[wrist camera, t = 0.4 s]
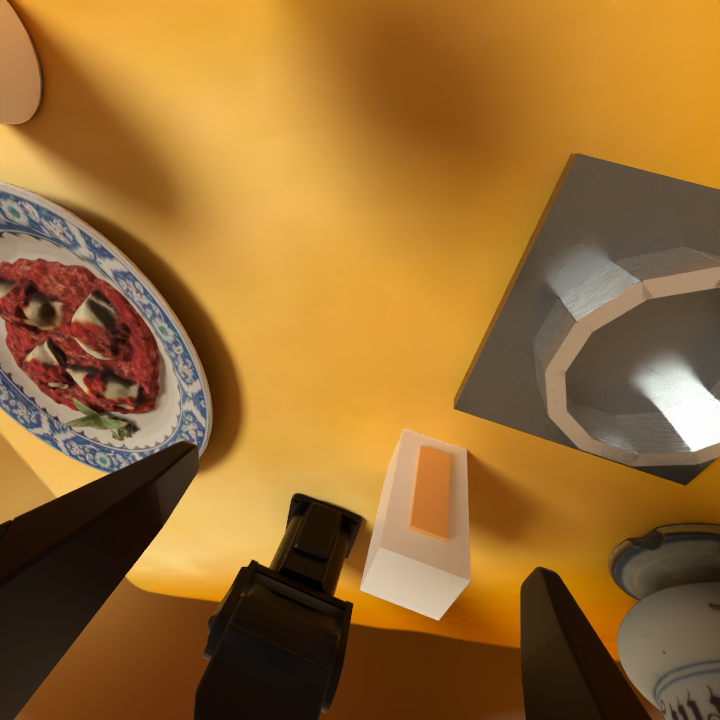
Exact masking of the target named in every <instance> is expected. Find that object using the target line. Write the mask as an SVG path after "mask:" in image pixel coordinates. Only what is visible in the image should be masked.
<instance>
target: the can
mask: <svg viewBox="0 0 720 720" xmlns="http://www.w3.org/2000/svg"><path fill="white" fill-rule="evenodd" d="M42 92H43V79H42V71H41V66H40V62H39V58H38V55H37V52H36V49H35V46H34V44H33V41H32V39H31V37H30V35H29V33H28V31H27V29H26V27H25V25H24V24H23V22H22V20H21V19H20V17H19V16H18V14H17V13H16V11H15V10H14V9H13V8H12V6H11V5H10V4H9V3H8V1H7V0H0V124H21V123H24V122H26V121H28V120H29V119H30V118H31V117H32V116H33V115H34V113H35V112H36V110H37V109H38V107H39V105H40V102H41V98H42Z"/></svg>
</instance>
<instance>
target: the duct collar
mask: <svg viewBox="0 0 720 720" xmlns="http://www.w3.org/2000/svg"><path fill="white" fill-rule="evenodd" d="M454 409H456V410H459V411H462V412H465V413H468V414H471V415H474V416H477V417H480V418H483V419H486V420H489V421H492V422H495V423H498V424H501V425H504V426H507V427H510V428H513V429H516V430H519V431H522V432H525V433H528V434H531V435H534V436H537V437H540V438H544V439H547V440H550V441H553V442H556V443H559V444H562V445H565V446H568V447H571V448H574V449H577V450H580V451H583V452H586V453H589V454H592V455H595V456H598V457H601V458H604V459H607V460H610V461H613V462H616V463H619V464H622V465H625V466H628V467H631V468H634V469H637V470H640V471H643V472H646V473H649V474H652V475H655V476H658V477H661V478H664V479H667V480H670V481H673V482H676V483H679V484H682V485H685V486H686V485H687V484H688V483H689V482H690V481H691V480H693V479H694V478H695V477H696V476H697V475H698V474H699V473H701V472H702V471H703V470H704V469H705V468H706V467H708V466H709V465H710V464H711V463H712V462H713V461H714V460H716V459H717V458H718V457H720V190H719V189H715V188H711V187H707V186H703V185H699V184H695V183H691V182H687V181H683V180H680V179H676V178H672V177H668V176H664V175H660V174H656V173H652V172H648V171H644V170H640V169H636V168H633V167H629V166H625V165H621V164H617V163H613V162H609V161H605V160H601V159H597V158H593V157H589V156H586V155H582V154H571V155H570V158H569V160H568V162H567V164H566V166H565V168H564V170H563V172H562V174H561V176H560V178H559V181H558V183H557V185H556V187H555V189H554V191H553V193H552V195H551V197H550V199H549V201H548V204H547V206H546V208H545V210H544V212H543V214H542V216H541V218H540V220H539V222H538V225H537V227H536V229H535V231H534V233H533V235H532V237H531V239H530V241H529V243H528V245H527V248H526V250H525V252H524V254H523V256H522V258H521V260H520V262H519V264H518V266H517V268H516V271H515V273H514V275H513V277H512V279H511V281H510V283H509V285H508V287H507V289H506V291H505V294H504V296H503V298H502V300H501V302H500V304H499V306H498V308H497V310H496V312H495V315H494V317H493V319H492V321H491V323H490V325H489V327H488V329H487V331H486V333H485V335H484V338H483V340H482V342H481V344H480V346H479V348H478V350H477V352H476V354H475V356H474V358H473V361H472V363H471V365H470V367H469V369H468V371H467V373H466V375H465V377H464V379H463V381H462V384H461V386H460V388H459V390H458V392H457V394H456V396H455V398H454Z"/></svg>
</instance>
